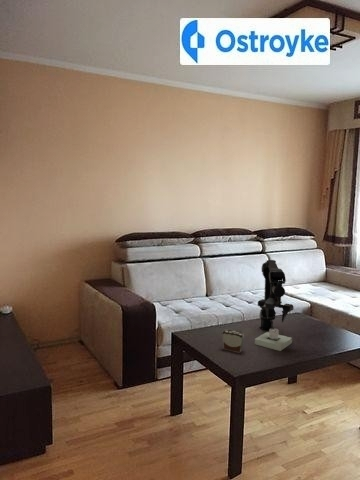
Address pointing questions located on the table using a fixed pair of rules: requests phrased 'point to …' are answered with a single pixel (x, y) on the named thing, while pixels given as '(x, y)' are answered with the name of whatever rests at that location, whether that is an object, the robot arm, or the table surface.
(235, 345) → the food container
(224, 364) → the table surface
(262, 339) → the bore block
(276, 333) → the gray cylinder
